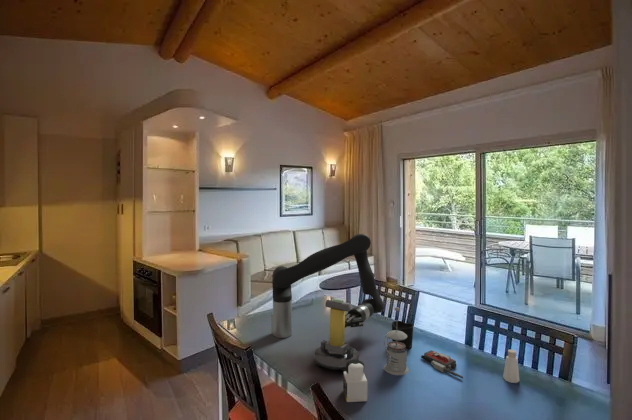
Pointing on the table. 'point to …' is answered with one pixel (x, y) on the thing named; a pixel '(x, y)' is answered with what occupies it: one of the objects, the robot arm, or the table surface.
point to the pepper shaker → (511, 367)
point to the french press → (398, 359)
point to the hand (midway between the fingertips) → (340, 326)
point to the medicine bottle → (355, 382)
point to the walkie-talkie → (440, 362)
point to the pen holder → (405, 328)
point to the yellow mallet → (337, 326)
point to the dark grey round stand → (334, 358)
